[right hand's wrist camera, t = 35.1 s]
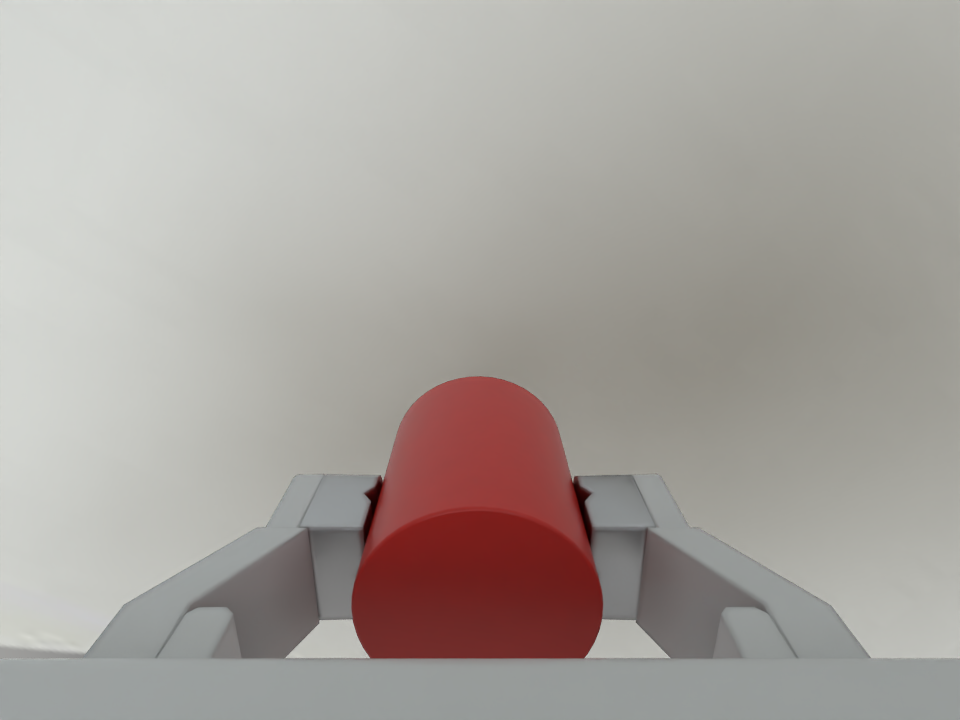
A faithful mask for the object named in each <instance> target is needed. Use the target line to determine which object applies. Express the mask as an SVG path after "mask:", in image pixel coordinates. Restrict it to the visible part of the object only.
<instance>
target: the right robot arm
mask: <svg viewBox="0 0 960 720" xmlns="http://www.w3.org/2000/svg"><path fill="white" fill-rule="evenodd" d="M382 484H383V480H382V478H381V475H335V474H327V475H325V474H299V475H296V476H295V477H294V478H293V480H292V481H291V483H290V485H289V487H288V489H287V490H286V492H285V494H284V496H283V497H282V499H281V501H280V503H279V505H278V506H277V508H276V510H275V512H274V513H273V515H272V517H271V519H270V520H269V522H268V524H267V526H266V528H256V529H254V530H252V531H250V532H249V533H247V534H245V535H243V536H242V537H240V538H238V539H237V540H235V541H233V542H231V543H230V544H228V545H226V546H224V547H223V548H221V549H219V550H218V551H216V552H214V553H212V554H211V555H209V556H207V557H205V558H204V559H202V560H200V561H199V562H197V563H195V564H193V565H192V566H190V567H188V568H186V569H185V570H183V571H181V572H180V573H178V574H176V575H174V576H173V577H171V578H169V579H167V580H166V581H164V582H162V583H161V584H159V585H157V586H155V587H154V588H152V589H150V590H149V591H147V592H145V593H143V594H142V595H140V596H138V597H136V598H135V599H133V600H131V601H130V602H128V603H126V604H124V605H123V607H122V608H121V609H120V611H119V612H118V613H117V614H116V616H115V617H114V618H113V620H112V621H111V622H110V623H109V625H108V626H107V627H106V629H105V630H104V631H103V632H102V634H101V635H100V636H99V638H98V639H97V640H96V641H95V643H94V644H93V645H92V647H91V648H90V649H89V650H88V652H87V653H86V654H85V656H84V657H83V658H57V659H56V658H46V659H44V658H43V659H41V658H37V659H36V658H34V659H33V658H31V659H0V720H960V658H870V656H869V655H868V654H867V652H866V651H865V650H864V648H863V647H862V646H861V644H860V643H859V642H858V640H857V639H856V638H855V636H854V635H853V634H852V632H851V631H850V630H849V629H848V627H847V626H846V625H845V623H844V622H843V621H842V619H841V618H840V617H839V615H838V614H837V613H836V611H835V610H834V609H833V607H832V606H831V605H829V604H828V603H826V602H824V601H822V600H821V599H819V598H817V597H816V596H814V595H812V594H811V593H809V592H807V591H805V590H804V589H802V588H800V587H799V586H797V585H795V584H793V583H792V582H790V581H788V580H787V579H785V578H783V577H782V576H780V575H778V574H776V573H775V572H773V571H771V570H770V569H768V568H766V567H764V566H763V565H761V564H759V563H758V562H756V561H754V560H753V559H751V558H749V557H747V556H746V555H744V554H742V553H741V552H739V551H737V550H735V549H734V548H732V547H730V546H729V545H727V544H725V543H724V542H722V541H720V540H718V539H717V538H715V537H713V536H712V535H710V534H708V533H706V532H705V531H703V530H701V529H700V528H690V527H689V525H688V524H687V522H686V520H685V518H684V516H683V515H682V513H681V511H680V509H679V507H678V506H677V504H676V502H675V500H674V499H673V497H672V495H671V493H670V491H669V490H668V488H667V486H666V484H665V482H664V481H663V479H662V477H661V476H660V475H658V474H637V475H602V476H574V482H573V485H574V489H575V493H576V496H577V500H578V504H579V507H580V511H581V515H582V518H583V522H584V526H585V529H586V533H587V537H588V540H589V544H590V548H591V551H592V555H593V559H594V562H595V566H596V570H597V573H598V577H599V581H600V584H601V588H602V595H603V616H602V619H616V620H636V623H637V624H638V625H639V626H640V627H641V628H642V629H643V630H644V631H645V632H646V633H647V634H648V635H649V636H650V637H651V638H652V639H653V640H654V641H655V642H656V643H657V644H658V645H659V647H660V648H661V649H662V650H663V651H664V652H665V653H666V654H667V655H668V656H669V657H670V658H285V657H286V656H287V655H288V654H289V653H290V652H291V651H292V650H293V649H294V648H295V647H296V646H297V645H298V644H299V643H300V642H301V641H302V640H303V639H304V638H305V637H306V636H307V635H308V634H309V633H310V632H311V631H312V630H313V629H314V628H315V627H316V626H317V625H318V624H319V620H339V619H353V618H352V611H351V600H352V591H353V586H354V582H355V578H356V575H357V571H358V568H359V564H360V561H361V557H362V554H363V550H364V547H365V543H366V540H367V536H368V533H369V529H370V526H371V522H372V519H373V515H374V512H375V508H376V505H377V501H378V498H379V494H380V491H381V487H382Z"/></svg>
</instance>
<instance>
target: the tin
mask: <svg viewBox="0 0 960 720" xmlns="http://www.w3.org/2000/svg"><path fill="white" fill-rule="evenodd" d="M351 611H352V618H353V623H354V626H355V630H356V633H357V636H358V638H359V640H360V642H361V644H362V646H363V648H364V650H365V651H366V652H367V654H368V655H369V657H370V658H585V656H586V655H587V654H588V652H589V651H590V649H591V647H592V646H593V644H594V642H595V640H596V637H597V635H598V632H599V629H600V625H601V621H602V616H603V595H602V588H601V584H600V581H599V577H598V573H597V570H596V566H595V562H594V559H593V555H592V551H591V548H590V544H589V540H588V537H587V533H586V529H585V526H584V522H583V518H582V515H581V511H580V507H579V504H578V500H577V496H576V493H575V489H574V485H573V482H572V478H571V474H570V471H569V467H568V463H567V460H566V456H565V452H564V449H563V445H562V441H561V438H560V434H559V431H558V427H557V425H556V423H555V421H554V418H553V417H552V415H551V414H550V412H549V410H548V409H547V408H546V407H545V406H544V404H543V403H542V402H541V401H540V400H539V399H538V398H536V397H535V396H534V395H533V394H531V393H530V392H528V391H527V390H526V389H524V388H522V387H520V386H518V385H516V384H514V383H511V382H508V381H505V380H502V379H497V378H492V377H481V376H480V377H465V378H459V379H455V380H451V381H448V382H445V383H443V384H441V385H438V386H436V387H434V388H433V389H431V390H429V391H428V392H426V393H425V394H424V395H422V396H421V397H420V398H419V399H418V400H417V401H416V402H415V403H414V404H413V405H412V406H411V407H410V409H409V410H408V411H407V413H406V414H405V416H404V418H403V420H402V421H401V423H400V426H399V429H398V432H397V435H396V439H395V442H394V446H393V449H392V453H391V456H390V460H389V463H388V467H387V470H386V474H385V477H384V481H383V484H382V487H381V491H380V494H379V498H378V501H377V505H376V508H375V512H374V515H373V519H372V522H371V526H370V529H369V533H368V536H367V540H366V543H365V547H364V550H363V554H362V557H361V561H360V564H359V568H358V571H357V575H356V578H355V582H354V586H353V591H352V600H351Z"/></svg>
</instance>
